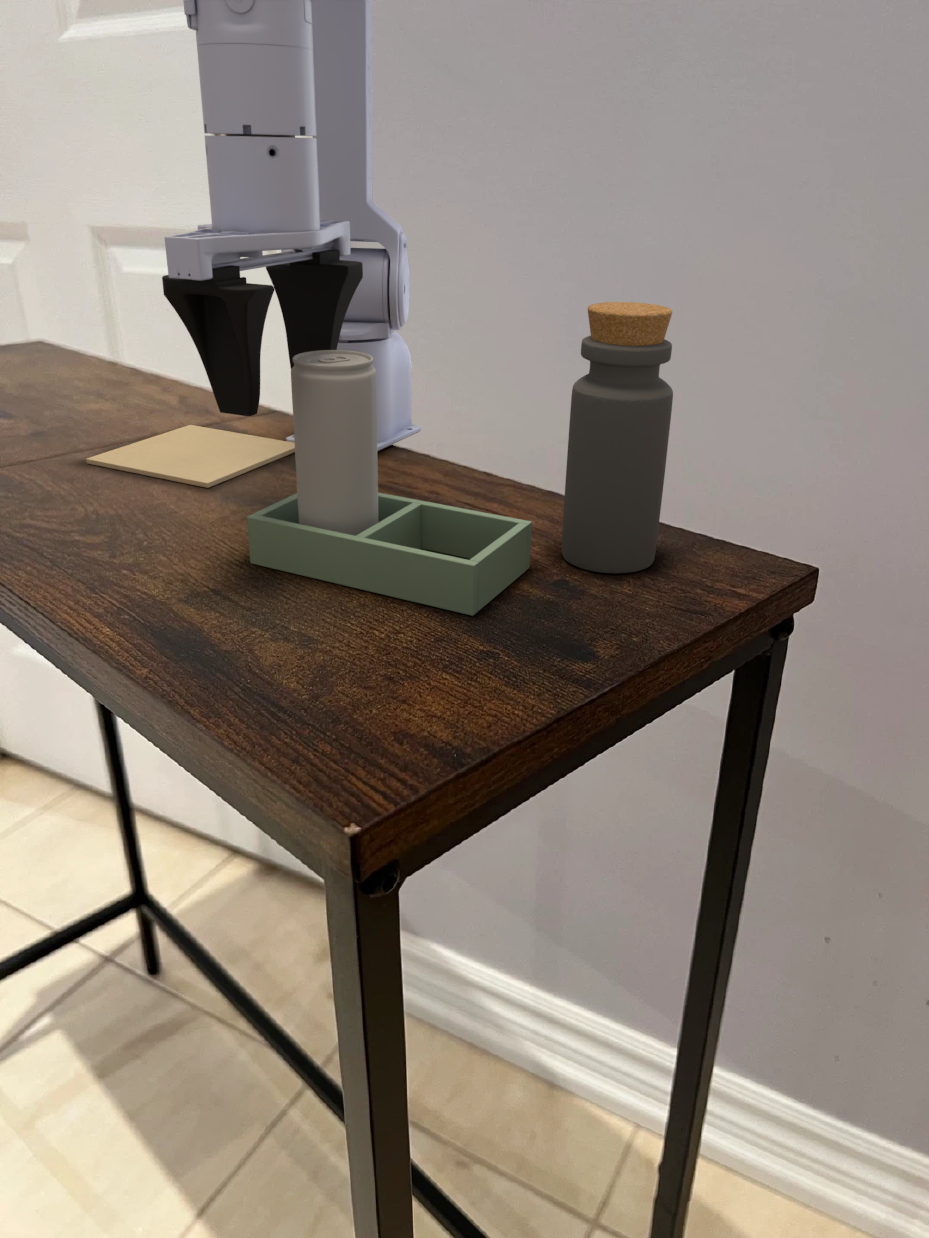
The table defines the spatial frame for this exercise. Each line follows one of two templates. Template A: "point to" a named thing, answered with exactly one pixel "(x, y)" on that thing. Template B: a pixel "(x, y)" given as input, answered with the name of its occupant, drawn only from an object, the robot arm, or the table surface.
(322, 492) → the beverage can
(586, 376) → the bottle
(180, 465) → the mat
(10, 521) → the table surface
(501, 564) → the divided storage tray
